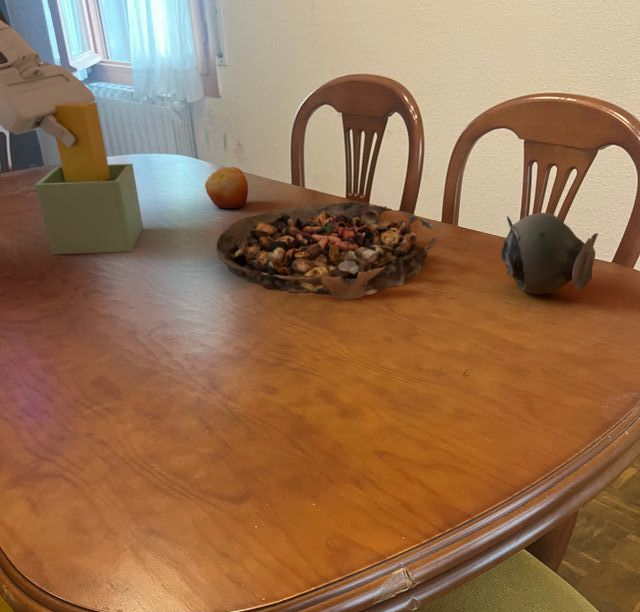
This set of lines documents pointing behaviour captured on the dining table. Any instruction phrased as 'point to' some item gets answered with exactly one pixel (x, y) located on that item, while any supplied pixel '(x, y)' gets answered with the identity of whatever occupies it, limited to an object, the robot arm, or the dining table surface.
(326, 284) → the food dish
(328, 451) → the dining table surface
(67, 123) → the packet
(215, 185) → the fruit
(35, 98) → the robot arm
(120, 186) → the bin
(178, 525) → the dining table surface
